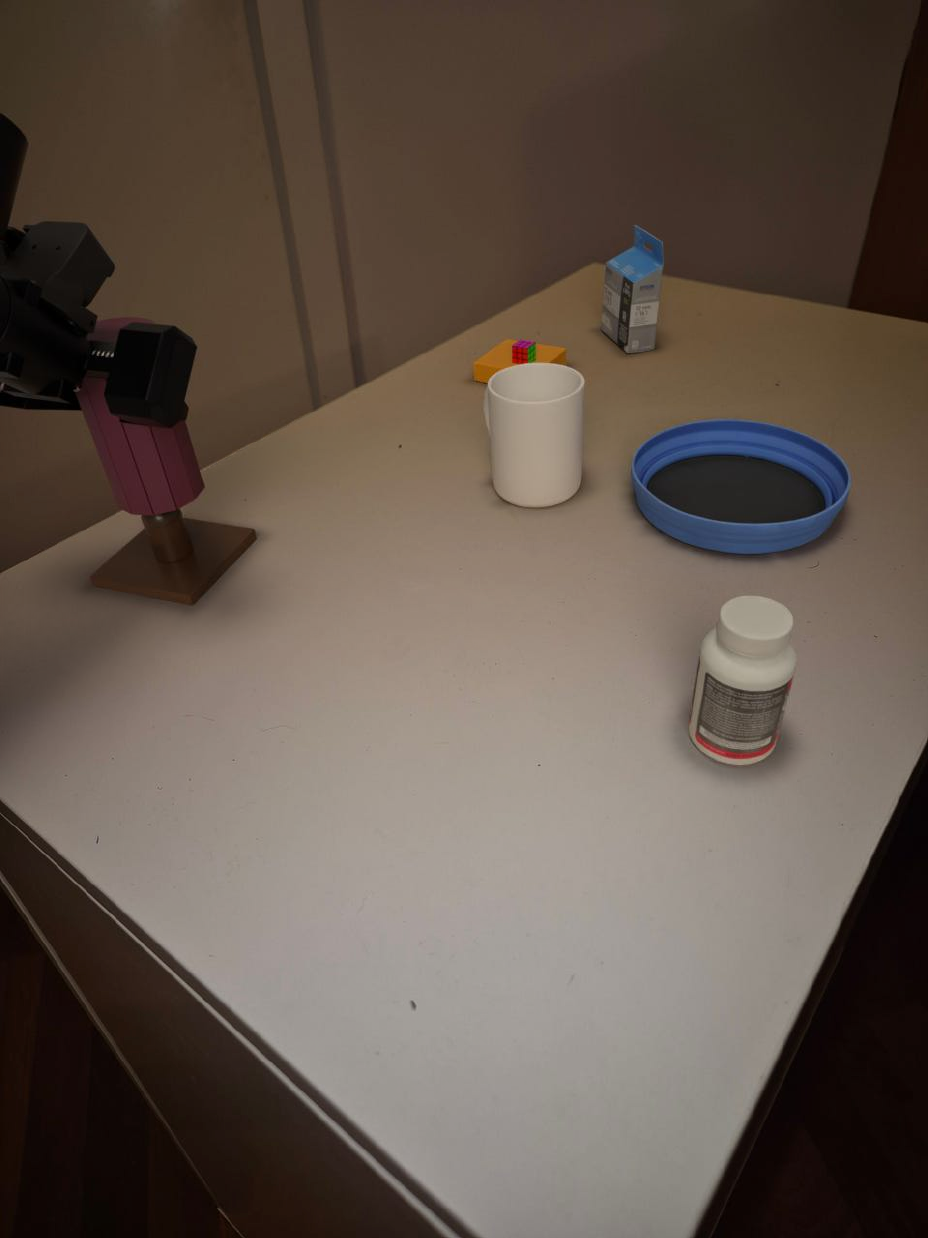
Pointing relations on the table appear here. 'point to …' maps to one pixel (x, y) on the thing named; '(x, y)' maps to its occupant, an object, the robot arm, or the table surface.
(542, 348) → the orange slab with cube
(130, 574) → the hat stand
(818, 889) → the table surface
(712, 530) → the bowl
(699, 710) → the pill bottle
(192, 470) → the maroon grooved cylinder
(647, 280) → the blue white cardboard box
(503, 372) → the mug
